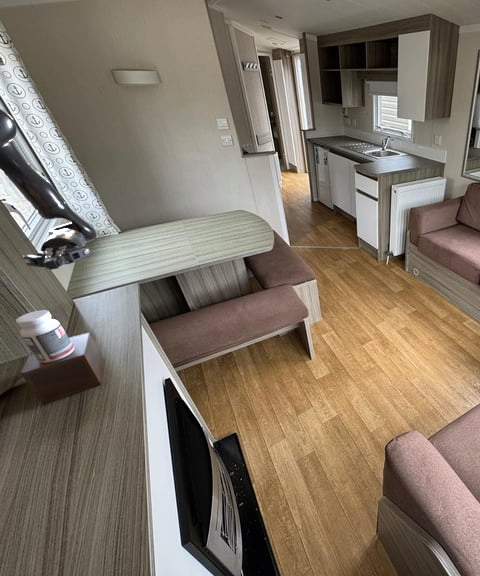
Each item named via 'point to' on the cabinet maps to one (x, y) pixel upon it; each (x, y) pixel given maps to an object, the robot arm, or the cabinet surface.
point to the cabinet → (66, 371)
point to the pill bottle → (44, 336)
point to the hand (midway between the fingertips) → (51, 265)
